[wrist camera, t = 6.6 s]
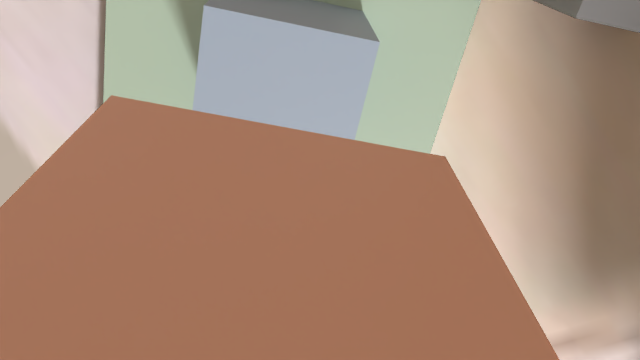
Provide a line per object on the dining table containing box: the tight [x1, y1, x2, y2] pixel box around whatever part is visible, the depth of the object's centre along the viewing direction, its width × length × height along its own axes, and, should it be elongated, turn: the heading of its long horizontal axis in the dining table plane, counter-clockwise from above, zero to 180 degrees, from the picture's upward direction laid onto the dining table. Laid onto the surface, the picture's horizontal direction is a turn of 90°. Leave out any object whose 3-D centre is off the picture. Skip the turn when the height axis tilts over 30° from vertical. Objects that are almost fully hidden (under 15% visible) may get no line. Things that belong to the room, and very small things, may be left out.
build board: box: [103, 0, 481, 154], centre depth 25 cm, size 16×16×1 cm
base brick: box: [193, 0, 380, 140], centre depth 22 cm, size 6×6×6 cm
